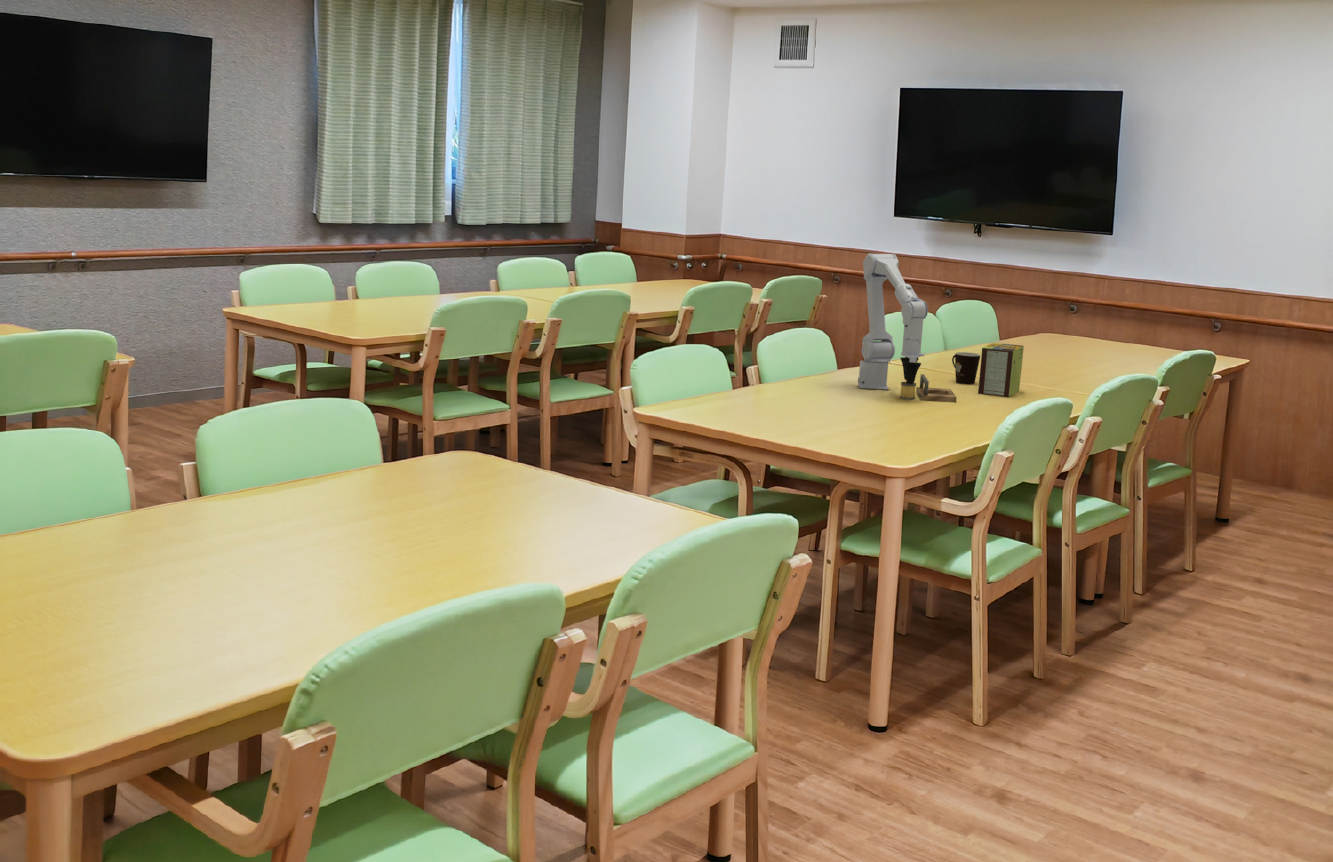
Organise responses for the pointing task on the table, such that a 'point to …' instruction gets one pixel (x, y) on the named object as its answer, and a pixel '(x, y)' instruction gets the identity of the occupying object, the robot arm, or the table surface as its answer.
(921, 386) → the brown piece
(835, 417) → the table surface
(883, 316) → the robot arm
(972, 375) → the coffee mug
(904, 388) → the cord reel
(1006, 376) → the protein box
